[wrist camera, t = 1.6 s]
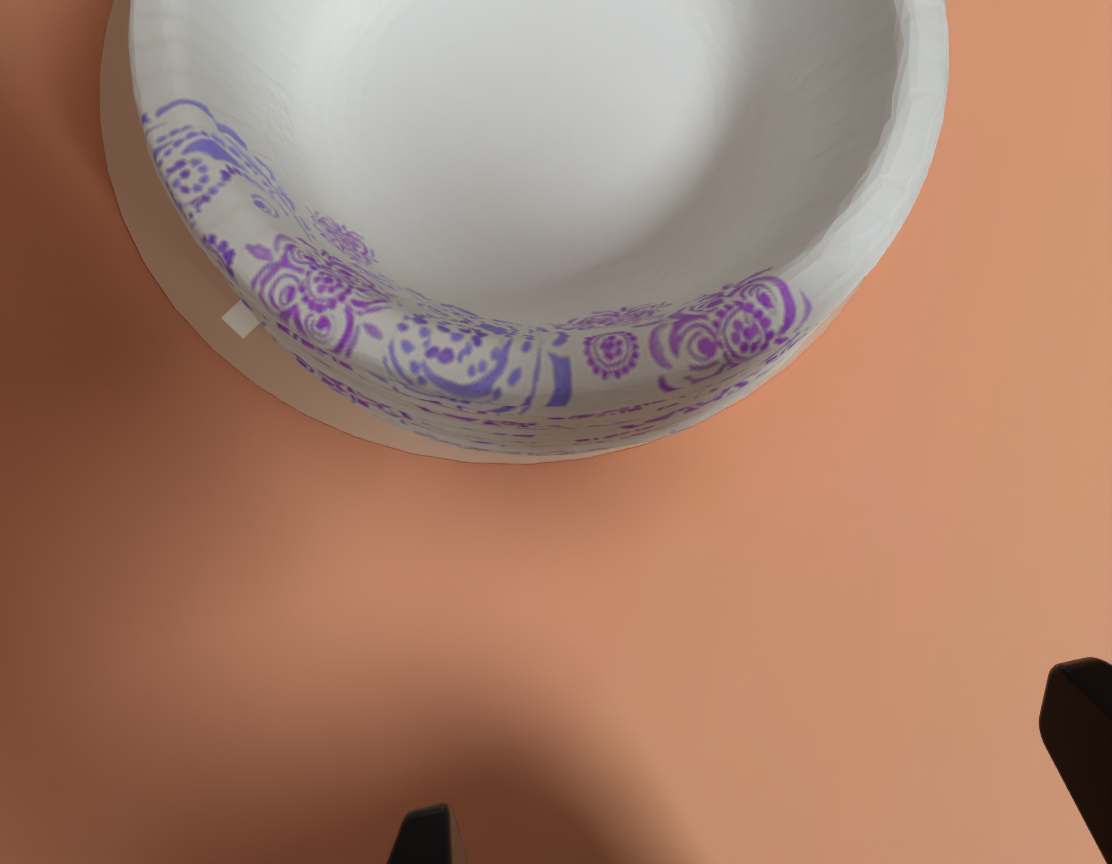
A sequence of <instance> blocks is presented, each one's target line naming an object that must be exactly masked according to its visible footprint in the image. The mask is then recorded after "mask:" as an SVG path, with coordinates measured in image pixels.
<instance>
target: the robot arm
mask: <svg viewBox="0 0 1112 864" xmlns="http://www.w3.org/2000/svg"><path fill="white" fill-rule="evenodd" d="M1039 729H1040V734H1041V737H1042V740H1043V743H1044V745H1045V747H1046V749H1047V751H1048V753H1049V755H1050V756H1051V758H1052V760H1053V762H1054V764H1055V766H1056V768H1057V770H1058V772H1059V774H1060V776H1061V777H1062V779H1063V781H1064V783H1065V785H1066V787H1067V789H1068V791H1069V793H1070V795H1071V796H1072V798H1073V800H1074V802H1075V804H1076V806H1077V808H1078V810H1079V812H1080V814H1081V816H1082V817H1083V819H1084V821H1085V823H1086V825H1087V827H1088V829H1089V831H1090V833H1091V835H1092V836H1093V838H1094V840H1095V842H1096V844H1097V846H1098V848H1099V850H1100V852H1101V854H1102V856H1103V857H1104V859H1105V861H1106V863H1107V864H1112V665H1111V664H1109V663H1108V662H1106V661H1103V660H1101V659H1098V658H1093V657H1086V658H1081V659H1077V660H1072V661H1068V662H1063V663H1059V664H1056V665H1055V666H1054V667H1053V668H1052V669H1051V670H1050V672H1049V674H1048V679H1047V683H1046V688H1045V693H1044V697H1043V702H1042V706H1041V711H1040V715H1039ZM387 864H468V859H467V855H466V852H465V848H464V845H463V842H462V839H461V835H460V832H459V829H458V825H457V822H456V819H455V816H454V812H453V809H452V808H451V806H450V805H449V804H447V803H440V804H435V805H431V806H426V807H422V808H417V809H413V810H411V811H409V812H408V813H407V814H406V816H405V818H404V819H403V821H402V824H401V826H400V829H399V832H398V834H397V837H396V840H395V842H394V845H393V848H392V850H391V853H390V856H389V858H388V861H387Z"/></svg>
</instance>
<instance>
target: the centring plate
mask: <svg viewBox="0 0 1112 864" xmlns="http://www.w3.org/2000/svg"><path fill="white" fill-rule="evenodd" d="M130 1H131V0H114V1H113V5H112V8H111V11H110V15H109V18H108V22H107V25H106V32H105V39H104V46H103V53H102V60H101V67H100V125H101V131H102V138H103V144H104V150H105V157H106V163H107V170H108V173H109V176H110V179H111V183H112V186H113V189H114V192H115V195H116V198H117V202H118V205H119V208H120V211H121V214H122V218H123V220H124V222H125V224H126V226H127V228H128V230H129V232H130V234H131V236H132V238H133V240H134V242H135V244H136V247H137V249H138V251H139V253H140V255H141V257H142V259H143V261H144V263H145V265H146V266H147V268H148V269H149V271H150V272H151V274H152V275H153V277H154V278H155V279H156V281H157V282H158V284H159V285H160V287H161V288H162V290H163V291H164V293H165V294H166V296H167V297H168V299H169V300H170V301H171V303H172V304H173V306H174V307H175V309H176V310H177V311H178V312H179V313H180V314H181V315H182V316H183V317H184V318H185V319H186V321H187V322H188V323H189V324H190V325H191V326H192V327H193V328H194V329H195V330H196V331H197V333H198V334H199V335H200V336H201V337H202V338H203V339H204V340H205V341H206V342H207V343H208V345H209V346H210V347H211V348H212V349H213V350H214V351H216V352H217V353H218V354H219V355H221V356H222V357H223V358H224V359H225V360H227V361H228V362H229V363H230V364H231V365H233V366H234V367H235V368H236V369H238V370H239V371H240V372H241V373H242V374H244V375H245V376H246V377H247V378H249V379H250V380H251V381H252V382H253V383H255V384H256V385H257V386H259V387H260V388H262V389H264V390H265V391H267V392H269V393H270V394H272V395H273V396H275V397H277V398H278V399H280V400H282V401H283V402H285V403H286V404H288V405H290V406H291V407H293V408H295V409H296V410H298V411H299V412H301V413H303V414H304V415H307V416H309V417H311V418H313V419H316V420H318V421H320V422H322V423H325V424H327V425H329V426H331V427H334V428H336V429H338V430H340V431H343V432H345V433H347V434H349V435H352V436H354V437H356V438H359V439H363V440H366V441H370V442H373V443H376V444H380V445H383V446H387V447H390V448H394V449H397V450H400V451H404V452H407V453H411V454H416V455H422V456H428V457H435V458H441V459H448V460H454V461H460V462H467V463H489V464H527V465H528V464H538V463H548V462H558V461H567V460H577V459H586V458H590V457H595V456H599V455H603V454H607V453H612V452H616V451H620V450H624V449H629V448H633V447H637V446H641V445H644V444H647V443H649V442H652V441H655V440H657V439H660V438H663V437H660V438H657V439H653V440H650V441H646V442H642V443H638V444H634V445H628V446H622V447H617V448H612V449H607V450H600V451H595V452H589V453H582V454H574V455H553V456H528V455H509V454H500V453H493V452H483V451H475V450H468V449H462V448H458V447H454V446H450V445H447V444H443V443H439V442H436V441H433V440H430V439H428V438H425V437H422V436H419V435H417V434H414V433H411V432H409V431H406V430H404V429H402V428H399V427H397V426H394V425H392V424H390V423H388V422H386V421H383V420H381V419H379V418H377V417H375V416H374V415H372V414H370V413H369V412H367V411H365V410H363V409H362V408H360V407H358V406H357V405H355V404H353V403H351V402H350V401H348V400H347V399H345V398H343V397H342V396H341V395H339V394H338V393H336V392H335V391H334V390H332V389H331V388H330V387H328V386H327V385H325V384H324V383H323V382H321V381H320V380H319V379H317V378H316V377H315V376H313V375H312V374H311V373H309V372H308V371H307V370H305V369H304V368H303V367H302V366H301V365H300V364H299V363H298V362H297V361H295V360H294V359H293V358H292V357H291V356H290V355H289V354H288V353H287V352H286V351H285V350H284V349H283V348H282V347H281V346H280V345H279V344H278V343H277V342H276V341H275V340H274V339H273V338H272V337H271V336H270V334H269V333H268V332H267V331H266V330H265V329H264V328H263V327H262V325H261V324H260V323H259V322H258V320H257V319H256V318H255V316H254V315H253V314H252V313H251V312H250V311H249V310H248V308H247V307H246V306H245V305H244V303H243V302H242V301H241V300H240V298H239V297H238V296H237V295H236V294H235V292H234V291H233V289H232V288H231V286H230V285H229V284H228V283H227V281H226V278H225V277H224V276H223V275H222V274H221V273H220V271H219V270H218V269H217V268H216V267H215V265H214V264H213V263H212V262H211V261H210V259H209V258H208V257H207V256H206V254H205V253H204V252H203V251H202V249H201V248H200V246H199V245H198V244H197V242H196V241H195V240H194V238H193V236H192V235H191V233H190V232H189V230H188V228H187V227H186V225H185V224H184V222H183V220H182V219H181V217H180V215H179V213H178V212H177V210H176V209H175V207H174V205H173V203H172V202H171V200H170V198H169V196H168V195H167V193H166V191H165V189H164V187H163V185H162V183H161V181H160V179H159V177H158V175H157V172H156V170H155V167H154V164H153V161H152V159H151V157H150V155H149V153H148V149H147V144H146V140H145V135H144V132H143V128H142V125H141V122H140V119H139V116H138V110H137V106H136V103H135V99H134V92H133V85H132V75H131V69H130V59H129V47H128V28H129V15H130ZM864 278H865V276H864ZM864 278H863V279H862V280H861V281H860V283H859V284H858V285H857V286H856V287H855V288H854V289H853V290H852V292H851V293H850V294H849V295H848V296H847V297H846V298H845V300H844V301H843V302H842V303H841V304H840V305H839V306H837V307H836V308H835V309H834V310H833V311H832V312H831V313H830V314H829V316H828V317H827V318H826V319H825V320H824V321H823V322H822V323H821V324H820V325H818V327H817V328H816V329H815V330H814V331H813V332H812V333H811V334H810V335H809V336H808V337H807V338H806V340H805V341H804V342H803V343H802V344H801V345H800V346H799V348H798V349H797V350H796V351H795V352H794V353H793V354H792V355H791V356H790V357H789V358H788V359H787V360H786V361H785V362H784V363H783V364H782V365H781V366H779V367H778V368H777V369H776V370H775V371H774V372H773V373H772V374H770V375H769V376H768V377H767V378H766V379H764V380H763V381H762V382H761V383H759V384H758V385H757V386H756V387H755V388H753V389H752V390H751V391H750V392H748V393H747V394H746V395H744V396H743V397H741V398H739V399H737V400H735V401H734V402H732V403H731V404H729V405H728V406H726V407H725V408H724V409H726V408H728V407H730V406H731V405H733V404H735V403H737V402H739V401H741V400H743V399H744V398H746V397H747V396H748V395H750V394H751V393H752V392H754V391H755V390H757V389H758V388H759V387H761V386H762V385H763V384H765V383H766V382H767V381H769V380H770V379H772V378H773V377H774V376H776V375H777V374H778V373H780V372H781V371H783V370H784V369H785V368H787V367H788V366H789V365H790V364H791V363H792V362H793V361H794V360H795V359H796V358H797V357H798V356H799V355H800V354H801V353H802V352H803V351H804V350H805V349H806V348H807V347H809V346H810V345H811V344H812V343H813V342H814V341H815V340H816V339H817V338H818V337H819V336H820V335H821V334H822V333H823V332H824V331H825V330H826V329H827V328H828V327H829V325H830V324H831V323H832V322H833V320H834V319H835V318H836V316H837V315H838V314H839V313H840V311H841V310H842V309H843V307H844V306H845V305H846V304H847V302H848V301H849V300H850V298H851V297H852V296H853V295H854V293H855V292H856V291H857V289H858V288H859V287H860V285H861V283H862V282H863V280H864ZM724 409H722V410H724ZM722 410H721V411H722ZM719 412H720V411H719ZM717 413H718V412H717ZM717 413H716V414H717ZM714 415H715V414H714ZM705 420H706V419H705ZM703 421H704V420H703ZM701 422H702V421H701ZM699 423H700V422H699ZM697 424H698V423H697ZM695 425H696V424H695ZM693 426H694V425H693ZM691 427H692V426H691ZM664 437H665V436H664Z"/></svg>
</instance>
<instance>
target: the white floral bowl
mask: <svg viewBox="0 0 1112 864" xmlns="http://www.w3.org/2000/svg"><path fill="white" fill-rule="evenodd" d="M128 47H129V59H130V69H131V75H132V85H133V92H134V99H135V103H136V106H137V110H138V116H139V119H140V122H141V125H142V128H143V132H144V135H145V140H146V144H147V149H148V153H149V155H150V157H151V159H152V161H153V164H154V167H155V170H156V172H157V175H158V177H159V179H160V181H161V183H162V185H163V187H164V189H165V191H166V193H167V195H168V196H169V198H170V200H171V202H172V203H173V205H174V207H175V209H176V210H177V212H178V213H179V215H180V217H181V219H182V220H183V222H184V224H185V225H186V227H187V228H188V230H189V232H190V233H191V235H192V236H193V238H194V240H195V241H196V242H197V244H198V245H199V246H200V248H201V249H202V251H203V252H204V253H205V254H206V256H207V257H208V258H209V259H210V261H211V262H212V263H213V264H214V265H215V267H216V268H217V269H218V270H219V271H220V273H221V274H222V275H223V276H224V277H225V278H226V281H227V283H228V284H229V285H230V286H231V288H232V289H233V291H234V292H235V294H236V295H237V296H238V297H239V298H240V300H241V301H242V302H243V303H244V305H245V306H246V307H247V308H248V310H249V311H250V312H251V313H252V314H253V315H254V316H255V318H256V319H257V320H258V322H259V323H260V324H261V325H262V327H263V328H264V329H265V330H266V331H267V332H268V333H269V334H270V336H271V337H272V338H273V339H274V340H275V341H276V342H277V343H278V344H279V345H280V346H281V347H282V348H283V349H284V350H285V351H286V352H287V353H288V354H289V355H290V356H291V357H292V358H293V359H294V360H295V361H297V362H298V363H299V364H300V365H301V366H302V367H303V368H304V369H305V370H307V371H308V372H309V373H311V374H312V375H313V376H315V377H316V378H317V379H319V380H320V381H321V382H323V383H324V384H325V385H327V386H328V387H330V388H331V389H332V390H334V391H335V392H336V393H338V394H339V395H341V396H342V397H343V398H345V399H347V400H348V401H350V402H351V403H353V404H355V405H357V406H358V407H360V408H362V409H363V410H365V411H367V412H369V413H370V414H372V415H374V416H375V417H377V418H379V419H381V420H383V421H386V422H388V423H390V424H392V425H394V426H397V427H399V428H402V429H404V430H406V431H409V432H411V433H414V434H417V435H419V436H422V437H425V438H428V439H430V440H433V441H436V442H439V443H443V444H447V445H450V446H454V447H458V448H462V449H468V450H475V451H483V452H493V453H500V454H509V455H528V456H553V455H574V454H582V453H589V452H595V451H600V450H607V449H612V448H617V447H622V446H628V445H634V444H638V443H642V442H646V441H650V440H653V439H657V438H660V437H664V436H669V435H672V434H675V433H677V432H680V431H683V430H685V429H687V428H689V427H691V426H693V425H695V424H697V423H699V422H701V421H703V420H705V419H708V418H709V417H711V416H713V415H714V414H716V413H717V412H719V411H721V410H722V409H724V408H725V407H726V406H728V405H729V404H731V403H732V402H734V401H735V400H737V399H739V398H741V397H743V396H744V395H746V394H747V393H748V392H750V391H751V390H752V389H753V388H755V387H756V386H757V385H758V384H759V383H761V382H762V381H763V380H764V379H766V378H767V377H768V376H769V375H770V374H772V373H773V372H774V371H775V370H776V369H777V368H778V367H779V366H781V365H782V364H783V363H784V362H785V361H786V360H787V359H788V358H789V357H790V356H791V355H792V354H793V353H794V352H795V351H796V350H797V349H798V348H799V346H800V345H801V344H802V343H803V342H804V341H805V340H806V338H807V337H808V336H809V335H810V334H811V333H812V332H813V331H814V330H815V329H816V328H817V327H818V325H820V324H821V323H822V322H823V321H824V320H825V319H826V318H827V317H828V316H829V314H830V313H831V312H832V311H833V310H834V309H835V308H836V307H837V306H839V305H840V304H841V303H842V302H843V301H844V300H845V298H846V297H847V296H848V295H849V294H850V293H851V292H852V290H853V289H854V288H855V287H856V286H857V285H858V284H859V283H860V281H861V280H862V279H863V278H864V276H866V275H867V274H868V273H869V272H870V271H871V270H872V269H873V268H874V266H875V265H876V264H877V263H878V261H879V260H880V258H881V257H882V256H883V254H884V253H885V251H886V250H887V249H888V248H889V246H890V245H891V243H892V242H893V240H894V238H895V236H896V234H897V233H898V232H899V231H900V229H901V227H902V225H903V223H904V221H905V220H906V218H907V216H908V214H909V213H910V211H911V209H912V207H913V205H914V202H915V200H916V198H917V196H918V194H919V192H920V190H921V187H922V185H923V182H924V180H925V178H926V177H927V175H928V169H929V166H930V164H931V162H932V159H933V155H934V152H935V148H936V144H937V141H938V137H939V134H940V129H941V126H942V124H943V115H944V109H945V103H946V96H947V85H948V75H949V43H948V24H947V18H946V8H945V0H131V1H130V15H129V28H128Z"/></svg>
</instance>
